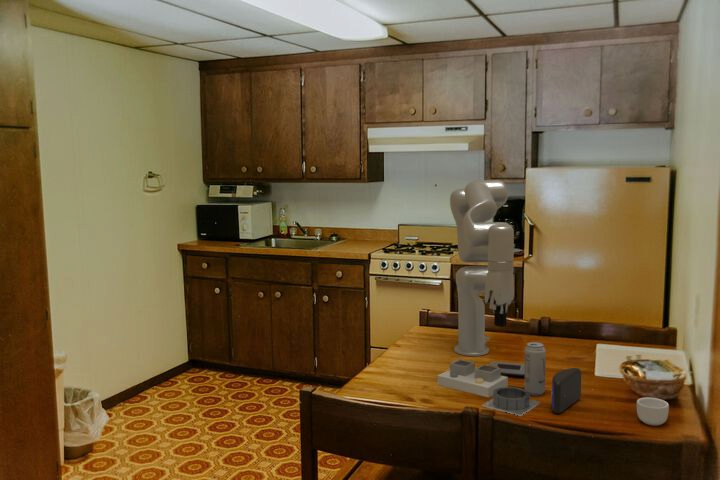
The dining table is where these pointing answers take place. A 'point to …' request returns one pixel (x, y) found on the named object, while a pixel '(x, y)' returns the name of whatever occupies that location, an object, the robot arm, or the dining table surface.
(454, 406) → the dining table surface
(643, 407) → the teacup
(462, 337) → the robot arm
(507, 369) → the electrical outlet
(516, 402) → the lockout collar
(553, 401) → the leaning round-cornered charcoal block
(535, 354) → the energy drink can
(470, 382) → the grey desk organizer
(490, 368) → the tagged breaker
